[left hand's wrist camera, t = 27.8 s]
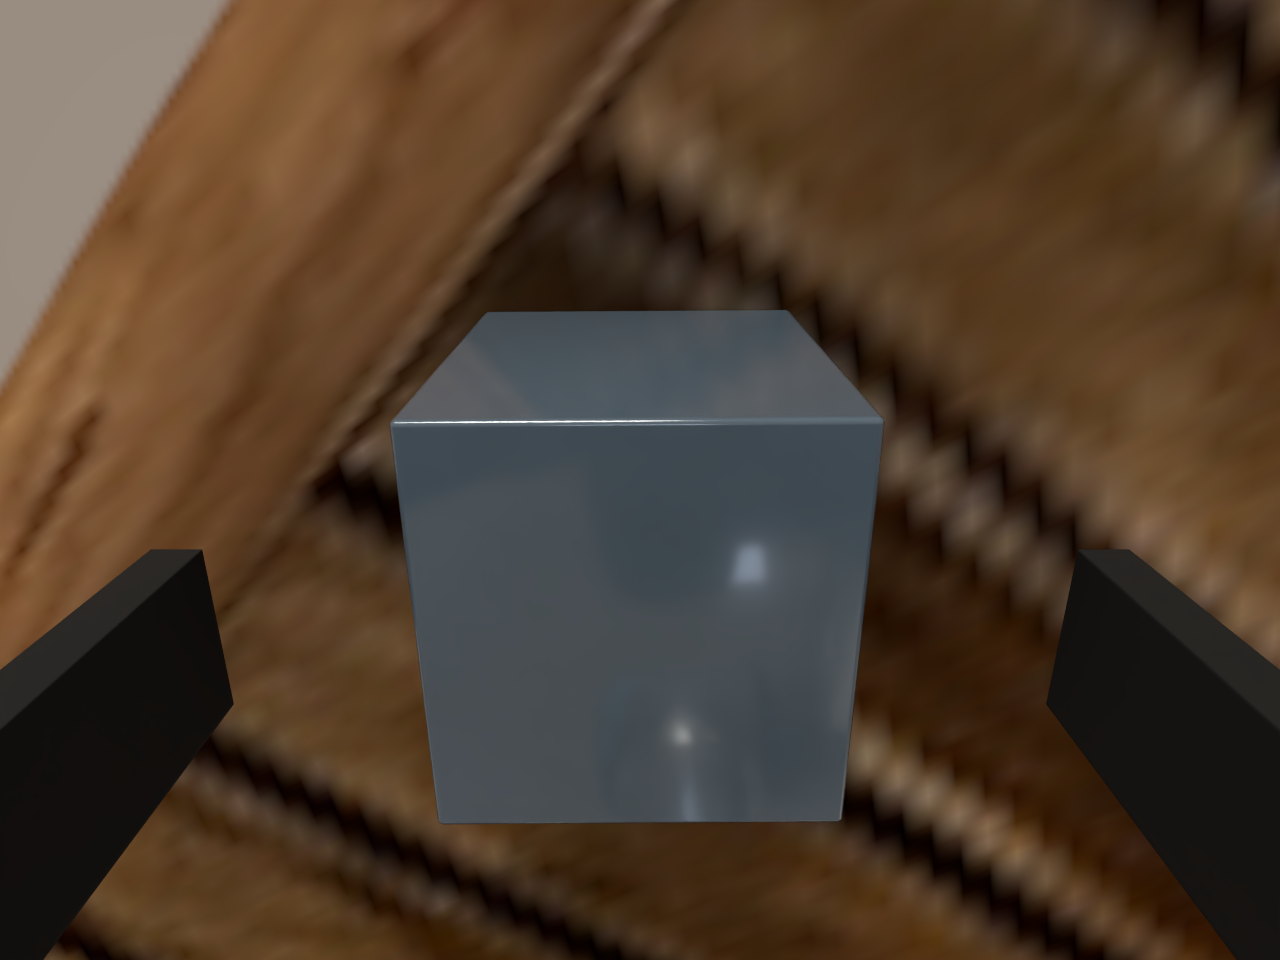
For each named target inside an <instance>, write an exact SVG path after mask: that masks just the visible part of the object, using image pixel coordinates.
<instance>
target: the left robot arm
mask: <svg viewBox="0 0 1280 960" xmlns="http://www.w3.org/2000/svg"><path fill="white" fill-rule="evenodd" d="M233 704H234V703H233V698H232V693H231V688H230V684H229V679H228V674H227V669H226V664H225V659H224V654H223V649H222V644H221V640H220V635H219V630H218V625H217V620H216V615H215V610H214V605H213V601H212V596H211V591H210V586H209V581H208V576H207V571H206V566H205V561H204V557H203V552H202V550H150V551H149V552H147V553H146V554H145V555H144V556H142V557H141V558H140V559H139V560H137V561H136V562H135V563H134V564H132V565H131V566H130V567H129V568H127V569H126V570H125V571H124V572H122V573H121V574H120V575H119V576H117V577H116V578H115V579H114V580H112V581H111V582H110V583H109V584H107V585H106V586H105V587H104V588H102V589H101V590H100V591H99V592H97V593H96V594H95V595H93V596H92V597H91V598H90V599H88V600H87V601H86V602H85V603H83V604H82V605H81V606H80V607H78V608H77V609H76V610H75V611H73V612H72V613H71V614H70V615H68V616H67V617H66V618H65V619H63V620H62V621H61V622H60V623H58V624H57V625H56V626H55V627H53V628H52V629H51V630H50V631H48V632H47V633H46V634H45V635H43V636H42V637H41V638H40V639H38V640H37V641H36V642H35V643H33V644H32V645H31V646H30V647H28V648H27V649H26V650H25V651H23V652H22V653H21V654H20V655H18V656H17V657H16V658H15V659H13V660H12V661H11V662H10V663H8V664H7V665H6V666H5V667H3V668H2V669H1V670H0V960H43V959H44V958H45V957H46V955H47V954H48V953H49V951H50V950H51V949H52V947H53V946H54V945H55V943H56V942H57V941H58V939H59V938H60V937H61V935H62V934H63V933H64V931H65V930H66V929H67V927H68V926H69V924H70V923H71V922H72V920H73V919H74V918H75V916H76V915H77V914H78V912H79V911H80V910H81V908H82V907H83V906H84V904H85V903H86V902H87V900H88V899H89V898H90V896H91V895H92V894H93V892H94V891H95V890H96V888H97V887H98V886H99V884H100V883H101V882H102V880H103V879H104V878H105V876H106V875H107V873H108V872H109V871H110V869H111V868H112V867H113V865H114V864H115V863H116V861H117V860H118V859H119V857H120V856H121V855H122V853H123V852H124V851H125V849H126V848H127V847H128V845H129V844H130V843H131V841H132V840H133V839H134V837H135V836H136V835H137V833H138V832H139V831H140V829H141V828H142V826H143V825H144V824H145V822H146V821H147V820H148V818H149V817H150V816H151V814H152V813H153V812H154V810H155V809H156V808H157V806H158V805H159V804H160V802H161V801H162V800H163V798H164V797H165V796H166V794H167V793H168V792H169V790H170V789H171V788H172V786H173V785H174V784H175V782H176V781H177V779H178V778H179V777H180V775H181V774H182V773H183V771H184V770H185V769H186V767H187V766H188V765H189V763H190V762H191V761H192V759H193V758H194V757H195V755H196V754H197V753H198V751H199V750H200V749H201V747H202V746H203V745H204V743H205V742H206V741H207V739H208V738H209V737H210V735H211V734H212V733H213V731H214V730H215V728H216V727H217V726H218V724H219V723H220V722H221V720H222V719H223V718H224V716H225V715H226V714H227V712H228V711H229V710H230V708H231V707H232V706H233ZM1046 704H1047V706H1048V707H1049V708H1050V710H1051V711H1052V712H1053V714H1054V715H1055V716H1056V718H1057V719H1058V720H1059V722H1060V723H1061V724H1062V726H1063V727H1064V728H1065V730H1066V731H1067V733H1068V734H1069V735H1070V737H1071V738H1072V739H1073V741H1074V742H1075V743H1076V745H1077V746H1078V747H1079V749H1080V750H1081V751H1082V753H1083V754H1084V755H1085V757H1086V758H1087V759H1088V761H1089V762H1090V763H1091V765H1092V766H1093V767H1094V769H1095V770H1096V771H1097V773H1098V774H1099V775H1100V777H1101V778H1102V779H1103V781H1104V782H1105V784H1106V785H1107V786H1108V788H1109V789H1110V790H1111V792H1112V793H1113V794H1114V796H1115V797H1116V798H1117V800H1118V801H1119V802H1120V804H1121V805H1122V806H1123V808H1124V809H1125V810H1126V812H1127V813H1128V814H1129V816H1130V817H1131V818H1132V820H1133V821H1134V822H1135V824H1136V825H1137V826H1138V828H1139V829H1140V831H1141V832H1142V833H1143V835H1144V836H1145V837H1146V839H1147V840H1148V841H1149V843H1150V844H1151V845H1152V847H1153V848H1154V849H1155V851H1156V852H1157V853H1158V855H1159V856H1160V857H1161V859H1162V860H1163V861H1164V863H1165V864H1166V865H1167V867H1168V868H1169V869H1170V871H1171V872H1172V873H1173V875H1174V876H1175V877H1176V879H1177V880H1178V882H1179V883H1180V884H1181V886H1182V887H1183V888H1184V890H1185V891H1186V892H1187V894H1188V895H1189V896H1190V898H1191V899H1192V900H1193V902H1194V903H1195V904H1196V906H1197V907H1198V908H1199V910H1200V911H1201V912H1202V914H1203V915H1204V916H1205V918H1206V919H1207V920H1208V922H1209V923H1210V924H1211V926H1212V927H1213V929H1214V930H1215V931H1216V933H1217V934H1218V935H1219V937H1220V938H1221V939H1222V941H1223V942H1224V943H1225V945H1226V946H1227V947H1228V949H1229V950H1230V951H1231V953H1232V954H1233V955H1234V957H1235V958H1236V959H1237V960H1280V670H1279V669H1278V668H1277V667H1275V666H1274V665H1273V664H1272V663H1270V662H1269V661H1268V660H1267V659H1265V658H1264V657H1263V656H1262V655H1260V654H1259V653H1258V652H1257V651H1255V650H1254V649H1253V648H1252V647H1250V646H1249V645H1248V644H1247V643H1245V642H1244V641H1243V640H1242V639H1240V638H1239V637H1238V636H1237V635H1235V634H1234V633H1233V632H1232V631H1230V630H1229V629H1228V628H1227V627H1225V626H1224V625H1223V624H1222V623H1220V622H1219V621H1218V620H1217V619H1215V618H1214V617H1213V616H1212V615H1210V614H1209V613H1208V612H1207V611H1205V610H1204V609H1203V608H1202V607H1200V606H1199V605H1198V604H1197V603H1195V602H1194V601H1193V600H1192V599H1190V598H1189V597H1188V596H1186V595H1185V594H1184V593H1183V592H1181V591H1180V590H1179V589H1178V588H1176V587H1175V586H1174V585H1173V584H1171V583H1170V582H1169V581H1168V580H1166V579H1165V578H1164V577H1163V576H1161V575H1160V574H1159V573H1158V572H1156V571H1155V570H1154V569H1153V568H1151V567H1150V566H1149V565H1148V564H1146V563H1145V562H1144V561H1143V560H1141V559H1140V558H1139V557H1138V556H1136V555H1135V554H1134V553H1133V552H1131V551H1130V550H1078V552H1077V557H1076V561H1075V566H1074V571H1073V576H1072V581H1071V586H1070V591H1069V596H1068V601H1067V605H1066V610H1065V615H1064V620H1063V625H1062V630H1061V635H1060V640H1059V644H1058V649H1057V654H1056V659H1055V664H1054V669H1053V674H1052V679H1051V684H1050V688H1049V693H1048V698H1047V703H1046Z"/></svg>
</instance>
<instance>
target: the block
mask: <svg viewBox="0 0 1280 960" xmlns="http://www.w3.org/2000/svg"><path fill="white" fill-rule="evenodd" d="M883 432H884V419H883V417H882V416H881V415H880V414H879V413H878V412H877V411H876V409H875V408H874V407H873V406H872V405H871V404H870V403H869V402H868V400H867V399H866V398H865V397H864V396H863V395H862V394H861V392H860V391H859V390H858V389H857V388H856V387H855V386H854V385H853V383H852V382H851V381H850V380H849V379H848V378H847V377H846V375H845V374H844V373H843V372H842V371H841V370H840V369H839V368H838V366H837V365H836V364H835V363H834V362H833V361H832V360H831V358H830V357H829V356H828V355H827V354H826V353H825V352H824V351H823V349H822V348H821V347H820V346H819V345H818V344H817V343H816V341H815V340H814V339H813V338H812V337H811V336H810V335H809V334H808V332H807V331H806V330H805V329H804V328H803V327H802V326H801V324H800V323H799V322H798V321H797V320H796V319H795V318H794V317H793V315H792V314H791V313H790V312H789V311H787V310H740V311H585V312H487V313H485V314H484V316H483V317H482V318H481V319H480V320H479V321H478V322H477V324H476V325H475V326H474V327H473V328H472V329H471V330H470V332H469V333H468V334H467V335H466V336H465V337H464V338H463V340H462V341H461V342H460V343H459V344H458V345H457V346H456V348H455V349H454V350H453V351H452V352H451V353H450V354H449V356H448V357H447V358H446V359H445V360H444V361H443V362H442V364H441V365H440V366H439V367H438V368H437V369H436V370H435V372H434V373H433V374H432V375H431V376H430V377H429V378H428V380H427V381H426V382H425V383H424V384H423V385H422V386H421V388H420V389H419V390H418V391H417V392H416V393H415V394H414V396H413V397H412V398H411V399H410V400H409V401H408V402H407V404H406V405H405V406H404V407H403V408H402V409H401V410H400V412H399V413H398V414H397V415H396V416H395V417H394V418H393V420H392V421H391V423H390V433H391V441H392V449H393V457H394V465H395V474H396V482H397V490H398V498H399V506H400V514H401V522H402V530H403V539H404V547H405V555H406V563H407V571H408V579H409V587H410V595H411V603H412V612H413V620H414V628H415V636H416V644H417V652H418V660H419V668H420V676H421V685H422V693H423V701H424V709H425V717H426V725H427V733H428V741H429V750H430V758H431V766H432V774H433V782H434V790H435V798H436V806H437V814H438V820H439V823H441V824H563V823H712V822H838V821H840V820H841V818H842V812H843V803H844V793H845V784H846V775H847V766H848V756H849V747H850V738H851V729H852V719H853V710H854V701H855V692H856V682H857V673H858V664H859V655H860V645H861V636H862V627H863V617H864V608H865V599H866V590H867V580H868V571H869V562H870V553H871V543H872V534H873V525H874V516H875V506H876V497H877V488H878V478H879V469H880V460H881V451H882V441H883Z"/></svg>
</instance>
